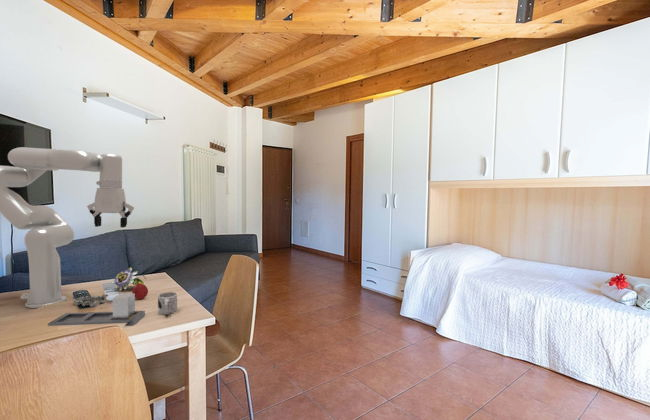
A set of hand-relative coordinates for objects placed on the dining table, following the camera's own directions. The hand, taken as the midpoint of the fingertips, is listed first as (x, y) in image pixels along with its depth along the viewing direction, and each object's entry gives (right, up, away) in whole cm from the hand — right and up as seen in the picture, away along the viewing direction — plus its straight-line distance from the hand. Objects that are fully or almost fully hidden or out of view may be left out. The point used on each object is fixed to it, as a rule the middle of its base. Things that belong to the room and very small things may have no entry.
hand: (110, 226), depth 128 cm
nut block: (+15, -32, -15) cm, 39 cm away
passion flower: (-5, -31, +21) cm, 38 cm away
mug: (+27, -33, -7) cm, 43 cm away
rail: (+7, -33, -16) cm, 37 cm away
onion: (+9, -32, +5) cm, 34 cm away
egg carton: (-7, -32, -1) cm, 33 cm away
